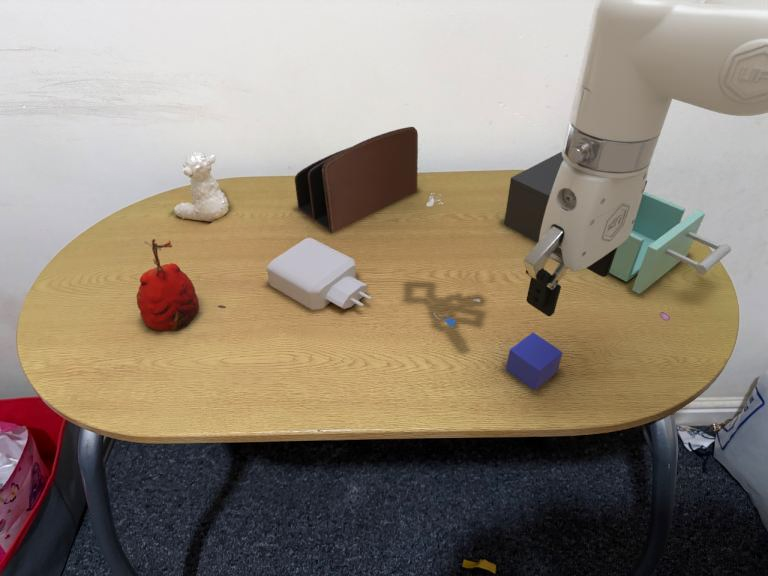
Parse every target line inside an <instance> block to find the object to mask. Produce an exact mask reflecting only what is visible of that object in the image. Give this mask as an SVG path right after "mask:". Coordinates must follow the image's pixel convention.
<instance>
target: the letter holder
mask: <svg viewBox="0 0 768 576" xmlns="http://www.w3.org/2000/svg"><path fill="white" fill-rule="evenodd" d="M418 138H419V132H418V129H416V127H415V126H407V127H403V128H397V129H395V130H391V131H387V132H384V133H381V134H379V135H375V136H371V137H370V138H367V139H365V140H363V141H360V142H359V143H356V144H354V145H353V146H350V147H347V148H344V149H342V150H339V151H336V152H334V153H332V154H329V155H327V156H325V157H323V158H321V159H318V160H317V161H315V162H313V163H311V164H309V165H307V166H306V167H304V168H303V169H301V170H299V171H298V172H297V173H296V174H295V176H294V185H295V193H296V201H297V211H299V212H300V213H302V214H303V215H305V216H306V217H308V218H309V219H311V220H312V221H313V222H314V223H316V224H318V225H319V226H320V227H321V228H323V229H325V230H326V231H327V232H329V233H330V234H333V233H335V232H337V231H339V230H341V229H343V228H345V227H347V226H349V225H351V224H353V223H355V222H357V221H359V220H362V219H364V218H365V217H367V216H370V215H373V213H377V212H378V211H380V210H382V209H384V208H387V207H388V206H390V205H392V204H394V203H396V202H399V201H401V200H402V199H404V198H406V197H408V196H410V195H413V194H415V193H418V171H419V170H418V169H419V168H418V161H419V160H418V159H419V139H418Z"/></svg>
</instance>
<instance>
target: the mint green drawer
mask: <svg viewBox="0 0 768 576" xmlns="http://www.w3.org/2000/svg"><path fill="white" fill-rule="evenodd" d="M685 212H686V208H685V207H682V206H680V205H678V204H675V203H672V202H671V201H669V200H666V199H664V198H663V199H662V198H660V197H658V196H656V195H653V194H651V193H649V192H647V191H645V190H644V191H643V194H642V198H641V202H640V205H639V209H638V212H637V215H636V219H635V222H634V225H633V228H632V231H631V234H630V236H629V237H628V238H627V239H626V240H625V241H624V242H623V243H622V244H621V245H619V246H618V247H617V251H616V254H615V257H614V259H613V262H612V265H611V268H610V271H609V274H611V275H612V276H614V277H616V278H618V279H620V280H622V281H624V282H626V283H627V282H629V281H630V280H632V279H633V278H634V277H635V276H636V278H635V281H634V283H633V286H632V287H631V291H632V292H634V293H636V294H638V295H641V294H642V293H643V292H645V291H646V290H647V289H648V288H650V287H651V286H652V285H653V284H654V283H656V281H658V280H659V279H661V278H662V277H663V276H664V275H665V274H666V273H668V272H669V271H670V270H672V269H673V268H674V267H675V266H676V265H677V264H679V263H680V262H681V263H684V264H686V265H688V266H690V267H692V268H694V269H695V271H696V273H697V274H699V275H705V274H707V273H708V272H709V271H710V270H711V269H712V268H713V267H714V266H716V265H717V264H718V263H719V262H720V261H721V260H723V259H724V258H725V257H726V256H728V254H729V253H730V252H731V251H732V247H731V246H730V245H729V244H727V243H722V244H719V243H717V242H714V241H712V240H710V239H708V238H706V237H703V236H700V235H699V234H697V233H698V231H699V229H700V226H701V224H702V222H703V220H704V217H705V215H706V212H704V211H702V210H699V209H696V210H695V211H694V212H692V213H691V214H689V215H688V216H687V217H686V218H684V219H683V220H682V218H683V216H684V214H685ZM694 241H696V242H698V243H700V244H702V245H705V246H707V247H710V248H712V249H713V251H712V252H711V253H710V254H709V255H707V256H706V257H705V258H704V259H702V260H701V261H700V262H699V261H696V260H695V259H694V260H693V259H692V258H689V257H687V256H688V254H689V252H690V249H691V248H692V245H693V243H694Z"/></svg>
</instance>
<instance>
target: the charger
mask: <svg viewBox="0 0 768 576" xmlns="http://www.w3.org/2000/svg"><path fill="white" fill-rule="evenodd" d="M266 272H267V278H268V282H269V286H270V287H272V288H273V289H275V290H277V291H279V292H281V293H283V294H284V295H285V296H287V297H289V298H291V299H293V300H294V301H296V302H298V303H300V304H301V305H303V306H305V308H308V309H309V310H312V311H315V310H323V309H324V308H326V306H328V305H329V304H330V303H332V304H334V305H336V306H337V307H340V308H341V309H349V308H352V307H353V306H354V305H356V306H358V307H361V308H363V307H364V306H365V304H364V303H363V302H361V301H360V300H362V298H364V299H366V300H369V301H372V300H373V297H372V296H370V295H368V294H366V293H367V291H368V290H369V287H370V285H368V284H366V283H365V282H362V281H360V280H359V279H357V271H356V261H355V259H354V258H352V257H350V256H349V255H346V254H344V253H343V252H340V251H338V250H336V249H334V248H332V247H330V246H328V245H327V244H324V243H323V242H320V241H318V240H316V239H314V238H312V237H306V238H305V239H303V240H301V241H300V242H298V243H297V244H295V245H293V246H291V247H290V248H289V249H287V250H286V251H284V252H283V253H281V254H280V255H277V256H276V257H275V258H274V259H272V260H271V261H270V262H269V263H268V264H267V267H266Z"/></svg>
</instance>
